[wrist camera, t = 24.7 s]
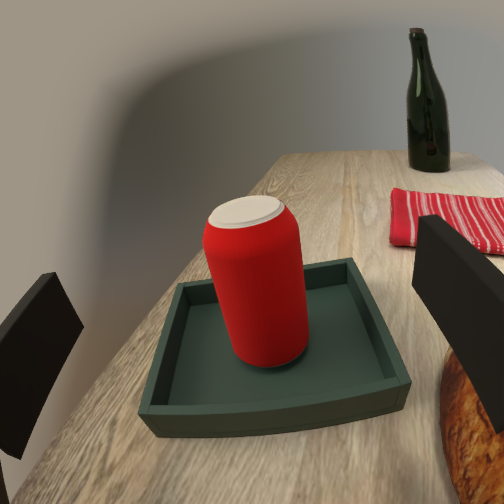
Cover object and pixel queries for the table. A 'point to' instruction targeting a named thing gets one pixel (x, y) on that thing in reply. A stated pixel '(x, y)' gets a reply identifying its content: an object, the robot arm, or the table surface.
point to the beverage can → (259, 278)
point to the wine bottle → (426, 111)
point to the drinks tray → (274, 378)
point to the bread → (469, 439)
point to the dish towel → (449, 217)
